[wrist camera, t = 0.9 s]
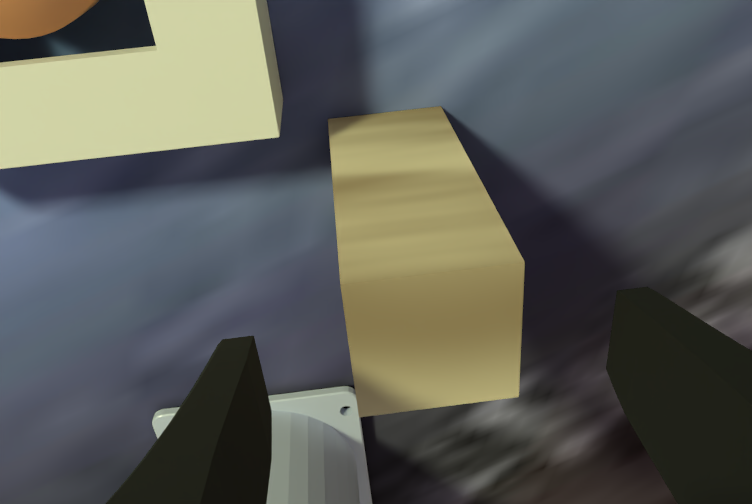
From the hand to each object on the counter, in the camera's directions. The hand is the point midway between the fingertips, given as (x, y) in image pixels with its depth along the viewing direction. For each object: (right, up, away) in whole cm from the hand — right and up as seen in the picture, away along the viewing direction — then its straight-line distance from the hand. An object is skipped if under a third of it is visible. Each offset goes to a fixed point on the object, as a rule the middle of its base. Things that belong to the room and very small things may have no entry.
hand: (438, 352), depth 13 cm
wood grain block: (-1, +5, +8) cm, 9 cm away
